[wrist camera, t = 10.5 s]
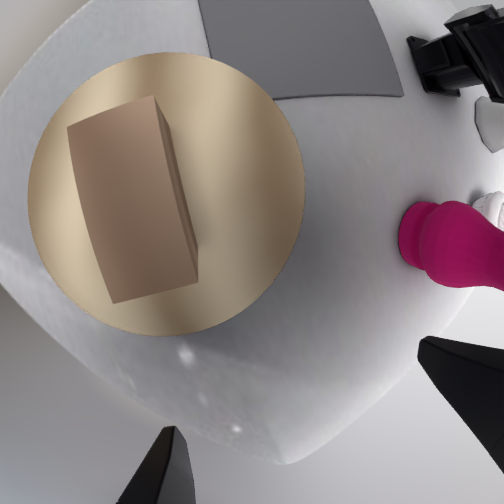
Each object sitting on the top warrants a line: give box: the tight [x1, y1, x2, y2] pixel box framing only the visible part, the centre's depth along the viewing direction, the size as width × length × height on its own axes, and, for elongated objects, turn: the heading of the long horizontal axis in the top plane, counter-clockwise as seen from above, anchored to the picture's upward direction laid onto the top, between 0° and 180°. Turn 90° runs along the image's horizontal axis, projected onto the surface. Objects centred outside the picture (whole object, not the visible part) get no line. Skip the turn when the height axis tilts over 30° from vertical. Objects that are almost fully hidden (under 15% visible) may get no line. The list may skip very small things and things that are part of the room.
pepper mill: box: [398, 201, 504, 291], centre depth 13 cm, size 7×7×20 cm
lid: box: [28, 52, 305, 336], centre depth 10 cm, size 15×15×6 cm
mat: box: [198, 0, 404, 100], centre depth 16 cm, size 16×16×1 cm
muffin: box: [472, 192, 504, 231], centre depth 21 cm, size 6×6×7 cm
